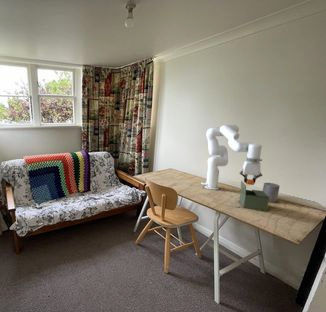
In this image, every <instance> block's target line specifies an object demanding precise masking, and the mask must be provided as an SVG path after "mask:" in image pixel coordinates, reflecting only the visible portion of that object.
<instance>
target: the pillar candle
mask: <svg viewBox="0 0 326 312" xmlns="http://www.w3.org/2000/svg"><path fill="white" fill-rule="evenodd" d="M280 187H281V185H279V184H277V183H274V182H264V183H263V188H262V191H263V192H264V193H265V194H267V195H268V196H269V202H268V203H276V202H277V201H278V197H279V192H280Z"/></svg>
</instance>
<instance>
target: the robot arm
mask: <svg viewBox="0 0 326 312" xmlns="http://www.w3.org/2000/svg"><path fill="white" fill-rule="evenodd" d="M239 131H240V128H239V126H238V125H236V124H223V125H221V126H220V127H218V126H217V127H216V126H215V127H210V128H208V129H207V130H206V133H205V134H206V140H207V148H208V154H209V155H210V157H208V158H207V174H206V181H205V182H200V185H202V186H203V187H204V188H205V189H207V190H211V191H217V190H218V191H219V189H220V187H219V186H218V185H219V175H220V170H219V167H227V165H228V164H229V155H228V148H227V147H226V146H225V145H220V144H219V140H218V138H217V137H224V138H226V139H227V140H228V141H227V143H228V146H229V148H230V149H231V150H233V151H234V152H236V153H247V154H246V160H245V161H243V165H242V169H241V171H240V172H239V174H240V175H241V176H242V177H243V183H244V184H246V183H247V179H248V176H253V177H252V179H251V180H253V181H254V184H256V180H257V179H259V178H261V177H263V174H262V172H261V162H262V161H263V159H262V158H261V154H262V153H261V151H262V147H263V146H262V145H261V144H258V143H252V142H238V141H237V140H238V139H239V138H240V133H239Z"/></svg>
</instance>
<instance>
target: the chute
mask: <svg viewBox="0 0 326 312" xmlns="http://www.w3.org/2000/svg"><path fill="white" fill-rule="evenodd" d="M238 202H239V203H240V205H241V206H242V207H243V208H244V209H250V210H256V211H257V210H258V211H264V212H267V211H268V207H269V203H270V202H269V196H268V195H267V194H265V193H264V192H263V190H258V189H251V190H249V189H246V194H245V193H244V192H243V191H242V189H241V188H240V194H239V200H238Z"/></svg>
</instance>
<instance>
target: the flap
mask: <svg viewBox="0 0 326 312" xmlns="http://www.w3.org/2000/svg"><path fill="white" fill-rule="evenodd" d="M241 189H242V191H243V192H244V193H245V194H246V190H247V184H246V183H245V182H244V181H243V180H240V190H241Z"/></svg>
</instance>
